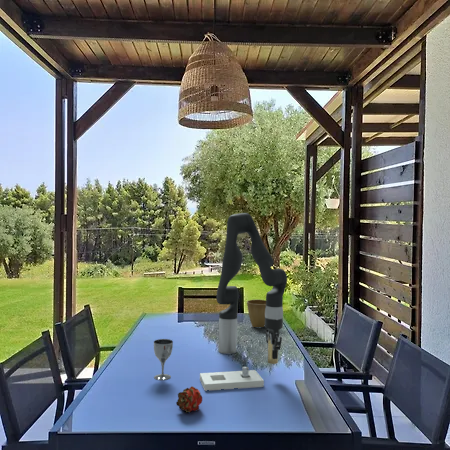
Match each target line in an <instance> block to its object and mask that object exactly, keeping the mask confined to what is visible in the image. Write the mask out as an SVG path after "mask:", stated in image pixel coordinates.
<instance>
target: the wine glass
mask: <svg viewBox="0 0 450 450" xmlns="http://www.w3.org/2000/svg"><path fill="white" fill-rule="evenodd" d="M173 343H174V341H173V339H170V338H169V339H168V338H158V339H155V340H153V353H154V356H155V357H156V358H157V359H158V361H159V362H160V364H161V365H160V366H161V373H159V374H156V375H154V377H153V378H154V380H157V381H167V380H170V379H171V378H172V376H171V375H170V374H167V373H164V371H165V370H164V369H165V364H166V361H168V359H169V357H170V356H171V355H172V352H173V348H174V344H173Z"/></svg>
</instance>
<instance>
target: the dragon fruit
mask: <svg viewBox="0 0 450 450" xmlns="http://www.w3.org/2000/svg"><path fill="white" fill-rule="evenodd" d="M202 402H203V396H202V394H201V392H200V390H199V389H198V388H196V387H194V386H192V385H191V386H190V387H187V388H185V389H183V391H181V392H178V393H177V401H176V402H175V403H176V406H178V408H179V409H180V410H183V411H184V410H185V411H186V412H185V413H187V412H190V413H191V412H192V411H194V412H197V411H199V410H200V405H201V404H202ZM196 410H197V411H196Z"/></svg>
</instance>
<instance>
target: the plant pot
mask: <svg viewBox="0 0 450 450" xmlns="http://www.w3.org/2000/svg"><path fill="white" fill-rule="evenodd" d="M246 305H247V306H246V307H247V311H248V316H249V320H250V323H251V327H253V328H254V327H263V328H265V308H266V299H265V300H264V299H249V300H247V301H246Z"/></svg>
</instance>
